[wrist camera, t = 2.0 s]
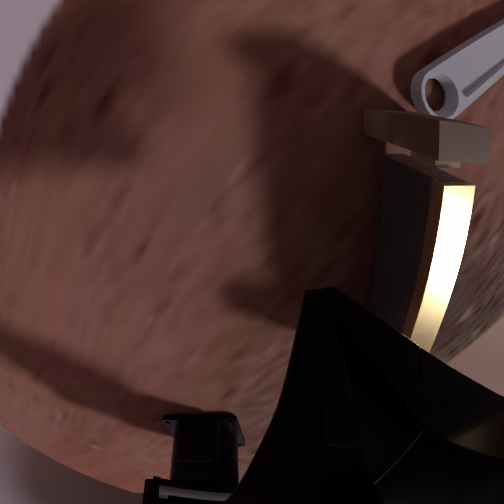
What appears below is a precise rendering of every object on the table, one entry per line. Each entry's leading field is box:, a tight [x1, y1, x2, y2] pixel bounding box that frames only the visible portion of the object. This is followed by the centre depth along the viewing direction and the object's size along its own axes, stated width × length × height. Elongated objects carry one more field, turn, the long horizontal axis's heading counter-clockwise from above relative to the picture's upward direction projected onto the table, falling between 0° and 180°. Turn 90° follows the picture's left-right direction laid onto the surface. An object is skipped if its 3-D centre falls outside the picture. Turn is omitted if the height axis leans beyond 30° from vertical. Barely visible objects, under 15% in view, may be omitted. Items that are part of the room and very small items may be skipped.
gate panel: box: [368, 154, 475, 352], centre depth 12 cm, size 11×2×5 cm, turn 6°
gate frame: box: [363, 109, 491, 168], centre depth 12 cm, size 14×3×6 cm, turn 176°
